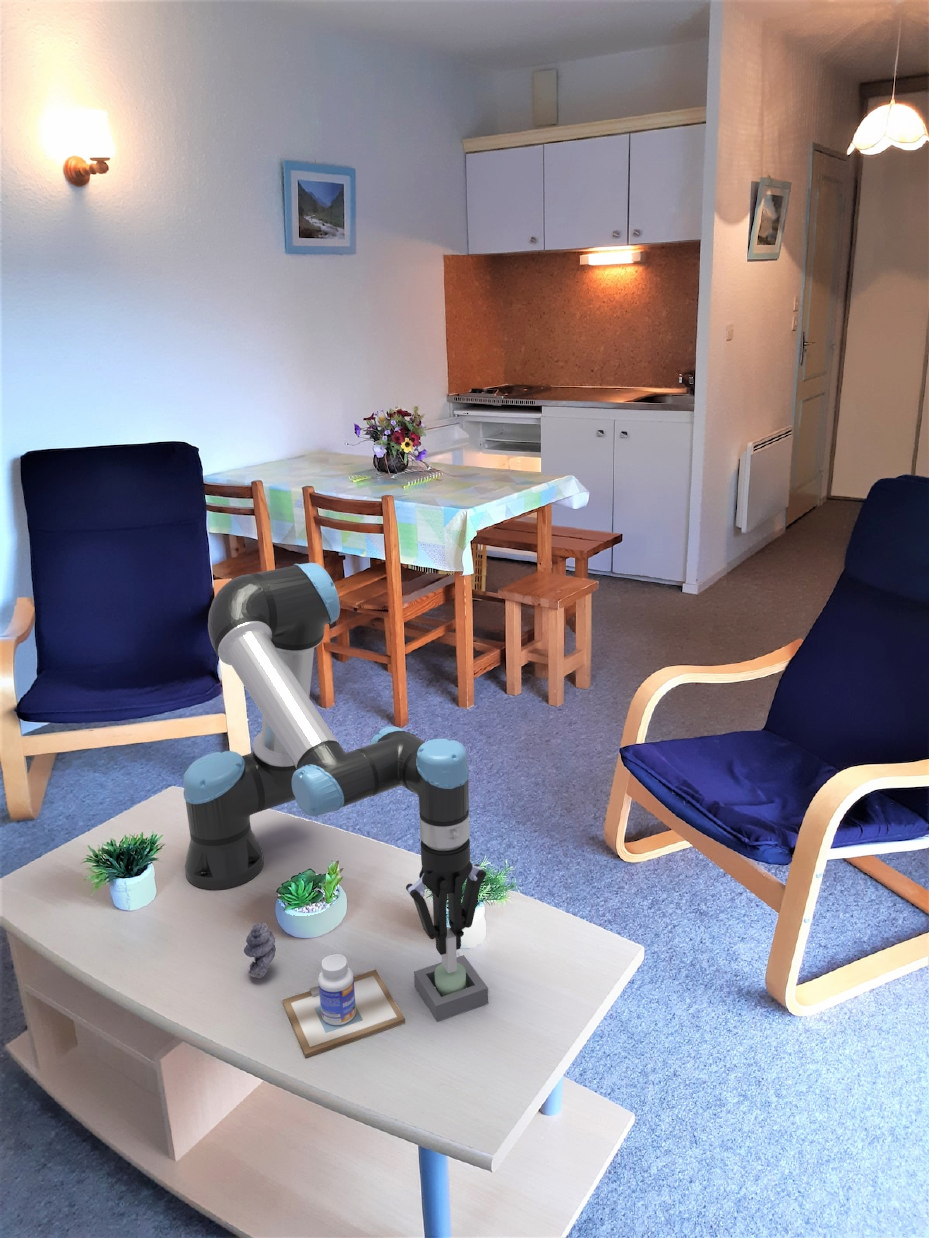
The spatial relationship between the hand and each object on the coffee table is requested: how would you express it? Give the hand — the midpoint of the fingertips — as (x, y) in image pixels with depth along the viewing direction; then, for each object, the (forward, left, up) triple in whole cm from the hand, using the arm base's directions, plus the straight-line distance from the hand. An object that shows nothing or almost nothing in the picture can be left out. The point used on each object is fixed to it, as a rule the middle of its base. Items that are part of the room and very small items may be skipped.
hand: (449, 966), depth 152 cm
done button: (0, 0, -5) cm, 5 cm away
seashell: (-19, -26, -6) cm, 32 cm away
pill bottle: (-3, -18, -4) cm, 19 cm away
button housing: (0, 0, -5) cm, 5 cm away
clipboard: (-4, -17, -5) cm, 18 cm away
